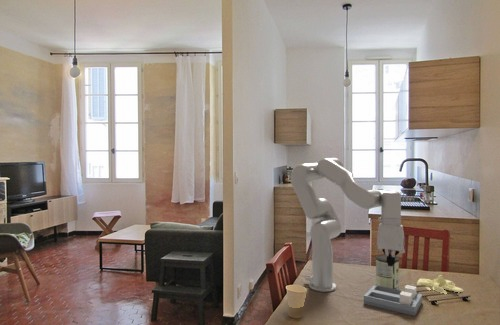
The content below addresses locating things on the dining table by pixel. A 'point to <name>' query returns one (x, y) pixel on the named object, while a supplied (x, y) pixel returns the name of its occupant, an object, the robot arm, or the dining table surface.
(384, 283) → the coffee can
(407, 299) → the tab
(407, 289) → the tab
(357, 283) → the dining table surface
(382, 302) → the switch board
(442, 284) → the cloth
